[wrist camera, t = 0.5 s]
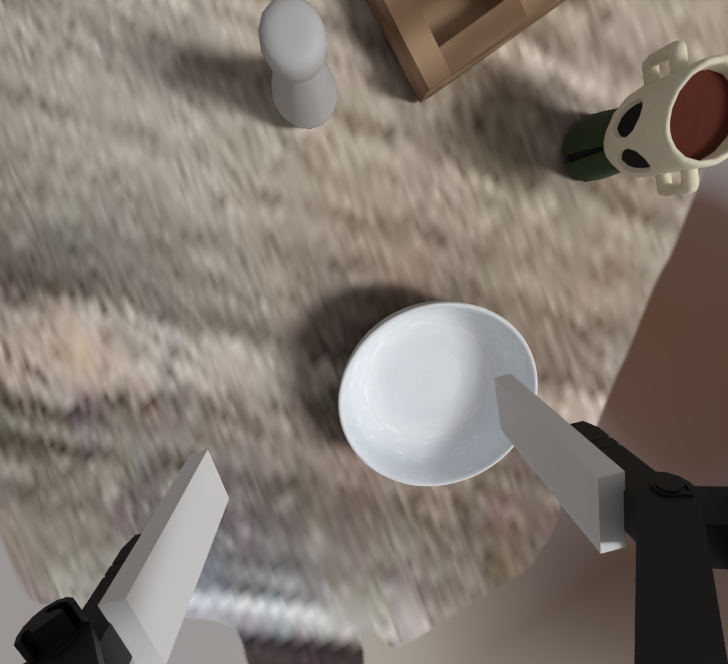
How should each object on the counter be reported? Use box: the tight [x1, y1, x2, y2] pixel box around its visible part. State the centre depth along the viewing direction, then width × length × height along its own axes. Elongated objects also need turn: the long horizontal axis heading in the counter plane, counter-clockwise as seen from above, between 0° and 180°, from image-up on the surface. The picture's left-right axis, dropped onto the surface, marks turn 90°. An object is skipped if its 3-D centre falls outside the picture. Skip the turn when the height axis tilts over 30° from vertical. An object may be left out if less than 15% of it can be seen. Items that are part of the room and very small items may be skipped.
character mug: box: [562, 41, 728, 196], centre depth 31 cm, size 11×7×13 cm, turn 21°
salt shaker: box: [258, 0, 338, 129], centre depth 28 cm, size 6×6×13 cm
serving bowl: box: [338, 301, 538, 486], centre depth 40 cm, size 21×21×7 cm
